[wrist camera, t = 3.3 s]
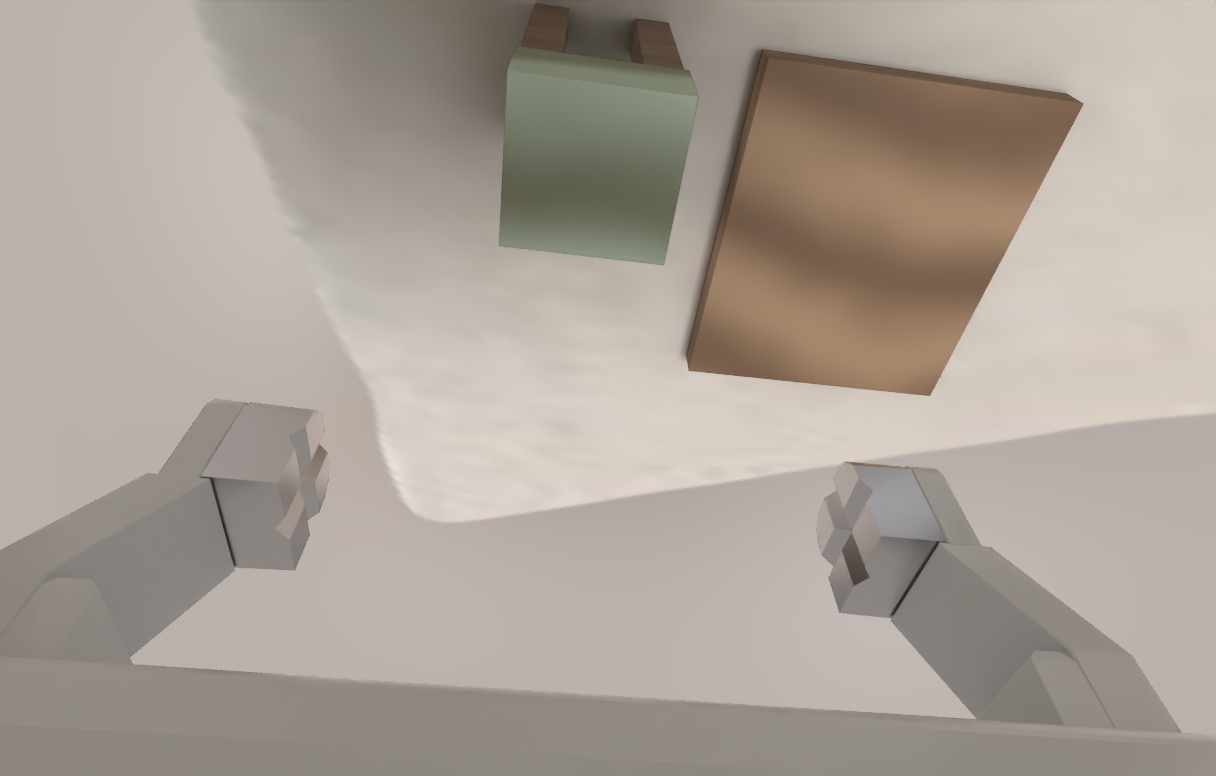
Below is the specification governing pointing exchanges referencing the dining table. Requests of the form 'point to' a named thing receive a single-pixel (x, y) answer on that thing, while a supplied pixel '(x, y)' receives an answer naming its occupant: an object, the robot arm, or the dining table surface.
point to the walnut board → (867, 220)
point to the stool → (594, 143)
